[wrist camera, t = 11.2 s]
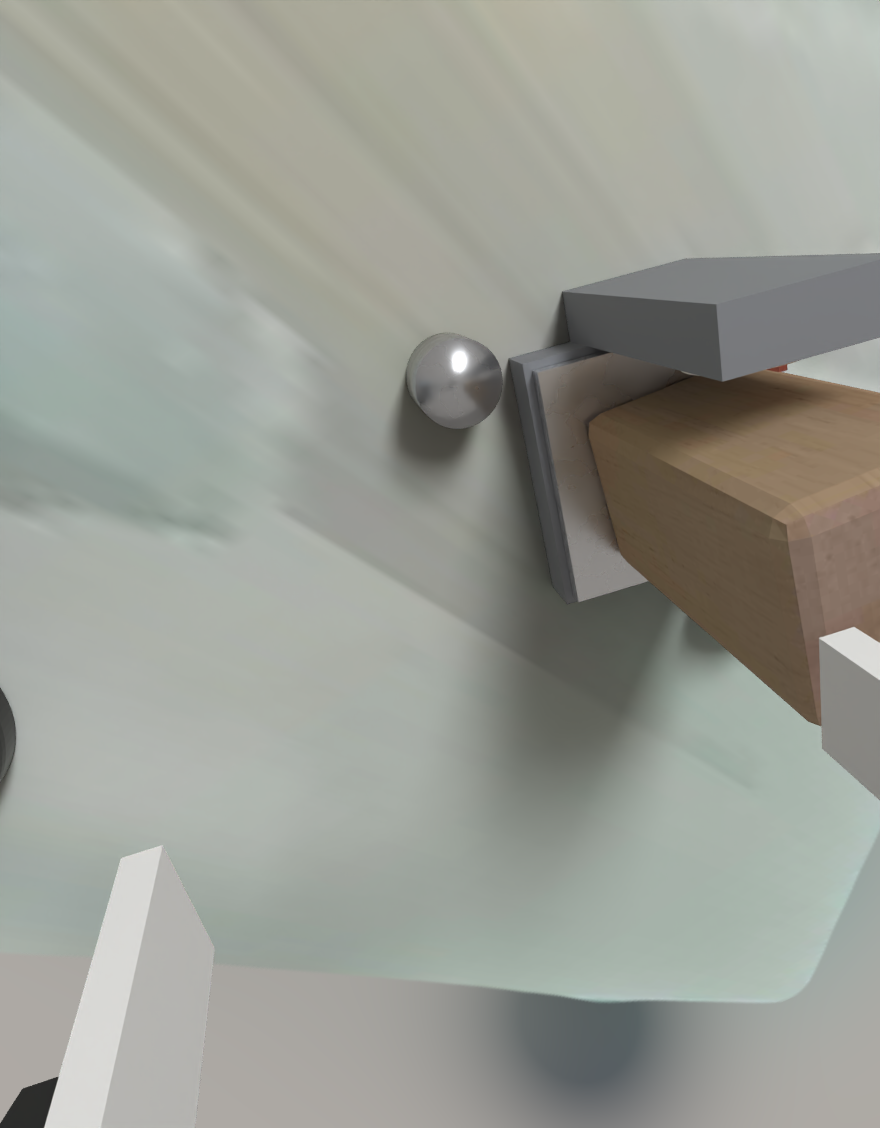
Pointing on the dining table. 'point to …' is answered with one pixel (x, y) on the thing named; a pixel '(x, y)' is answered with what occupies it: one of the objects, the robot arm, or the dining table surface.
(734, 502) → the wooden block
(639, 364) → the pan
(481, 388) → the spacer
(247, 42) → the dining table surface
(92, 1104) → the robot arm
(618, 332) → the base
